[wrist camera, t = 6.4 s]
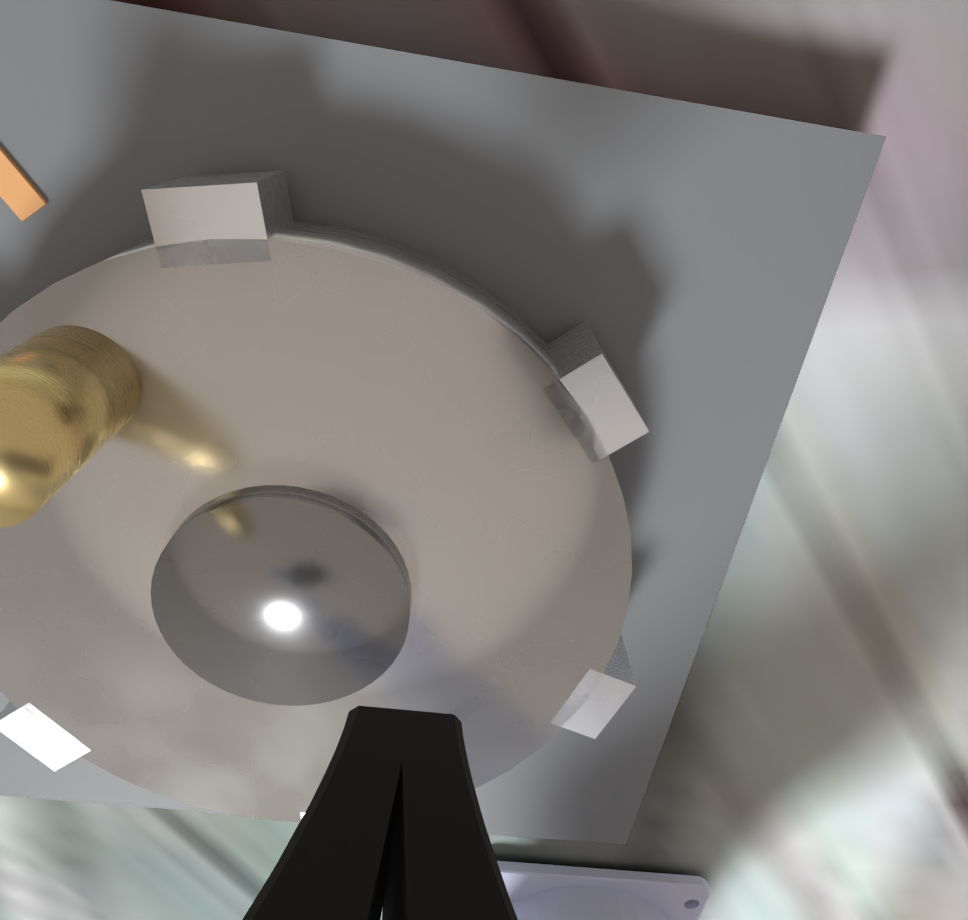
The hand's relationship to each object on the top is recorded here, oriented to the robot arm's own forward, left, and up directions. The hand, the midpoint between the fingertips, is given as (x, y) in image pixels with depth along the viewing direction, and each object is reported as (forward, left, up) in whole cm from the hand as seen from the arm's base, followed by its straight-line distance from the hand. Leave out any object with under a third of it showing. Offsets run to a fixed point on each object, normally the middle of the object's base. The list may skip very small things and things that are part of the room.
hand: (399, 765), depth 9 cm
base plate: (-2, +3, -9) cm, 10 cm away
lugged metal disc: (-2, +3, -8) cm, 8 cm away
